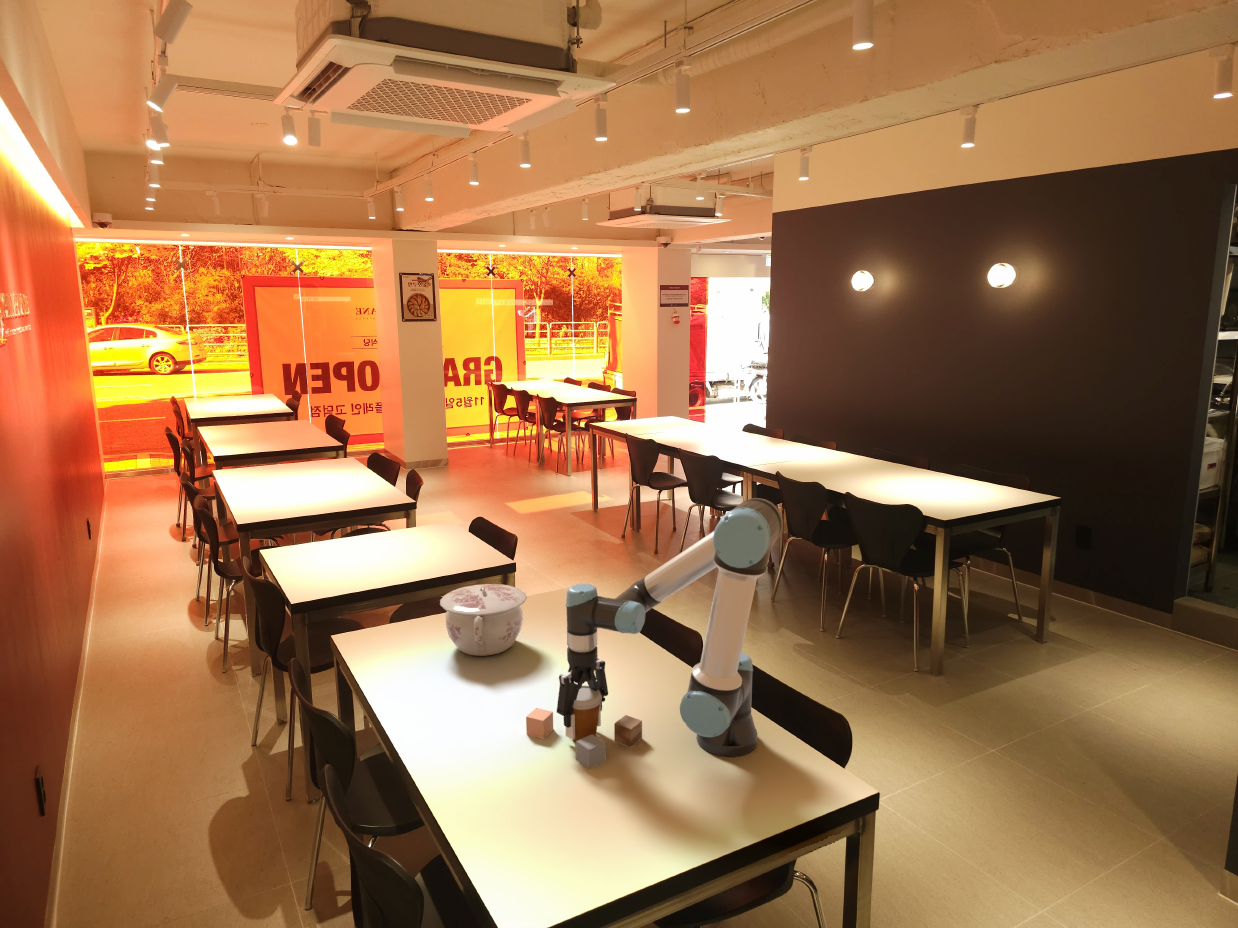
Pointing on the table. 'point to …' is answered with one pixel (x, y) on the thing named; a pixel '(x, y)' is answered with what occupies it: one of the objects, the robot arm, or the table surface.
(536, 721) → the terracotta cube
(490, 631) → the chamber pot
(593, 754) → the slate grey cube
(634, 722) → the walnut cube
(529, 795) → the table surface
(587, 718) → the disposable coffee cup
